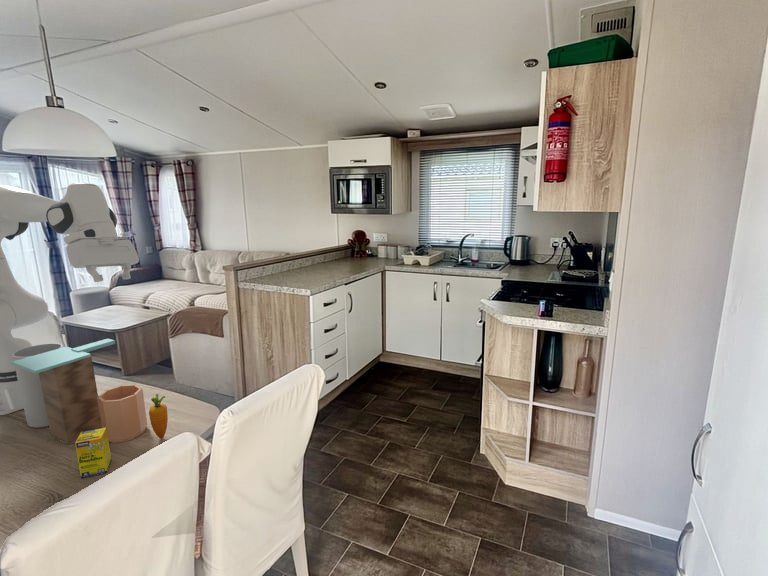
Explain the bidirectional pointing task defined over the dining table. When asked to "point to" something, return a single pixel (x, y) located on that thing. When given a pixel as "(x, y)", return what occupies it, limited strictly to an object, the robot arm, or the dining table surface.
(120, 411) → the peach faceted hollow pot
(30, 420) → the cylinder vase
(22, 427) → the dining table surface
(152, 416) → the carrot
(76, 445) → the supplement box
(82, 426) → the pedestal
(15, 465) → the dining table surface
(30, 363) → the teal flat board
